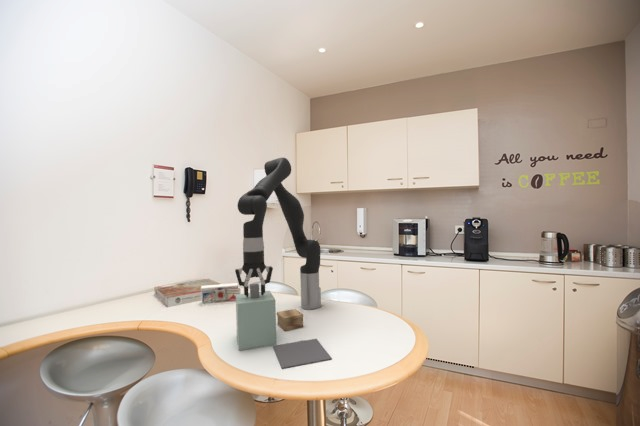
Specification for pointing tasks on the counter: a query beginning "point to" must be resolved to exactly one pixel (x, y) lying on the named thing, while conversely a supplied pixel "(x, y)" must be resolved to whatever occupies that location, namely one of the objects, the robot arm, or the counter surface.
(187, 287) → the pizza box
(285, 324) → the cardboard box
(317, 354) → the mat
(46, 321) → the counter surface
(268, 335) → the cover
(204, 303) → the cigarette display
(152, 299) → the counter surface
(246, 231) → the robot arm
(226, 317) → the counter surface
